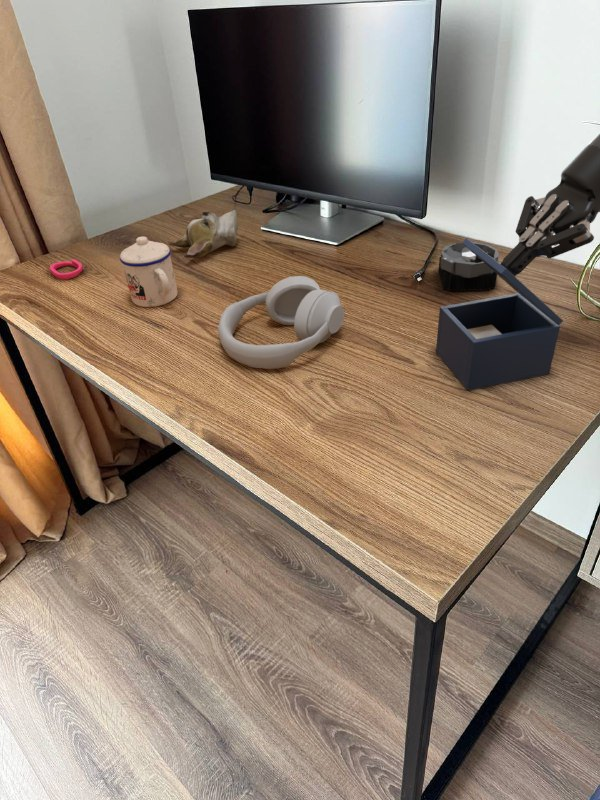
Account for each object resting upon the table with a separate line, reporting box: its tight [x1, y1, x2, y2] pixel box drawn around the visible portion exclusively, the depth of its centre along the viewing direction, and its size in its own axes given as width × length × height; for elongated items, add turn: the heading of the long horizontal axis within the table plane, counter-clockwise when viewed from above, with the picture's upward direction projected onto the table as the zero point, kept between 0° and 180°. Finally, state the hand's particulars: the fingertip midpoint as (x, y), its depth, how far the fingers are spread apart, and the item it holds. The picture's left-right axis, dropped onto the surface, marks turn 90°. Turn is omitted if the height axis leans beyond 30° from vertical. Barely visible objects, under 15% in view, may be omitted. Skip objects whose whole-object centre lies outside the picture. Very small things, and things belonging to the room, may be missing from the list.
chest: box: [435, 292, 561, 391], centre depth 84 cm, size 13×11×8 cm
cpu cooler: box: [438, 241, 499, 292], centre depth 107 cm, size 10×6×10 cm
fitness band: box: [49, 258, 85, 281], centre depth 123 cm, size 8×6×2 cm
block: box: [467, 325, 501, 339], centre depth 84 cm, size 4×4×4 cm
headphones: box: [217, 275, 345, 370], centre depth 94 cm, size 18×8×20 cm
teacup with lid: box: [119, 236, 178, 308], centre depth 107 cm, size 12×9×12 cm
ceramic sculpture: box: [167, 209, 239, 259], centre depth 125 cm, size 11×9×15 cm
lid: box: [461, 238, 564, 326], centre depth 79 cm, size 14×11×1 cm
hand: (506, 271), depth 78 cm, fingers closed
